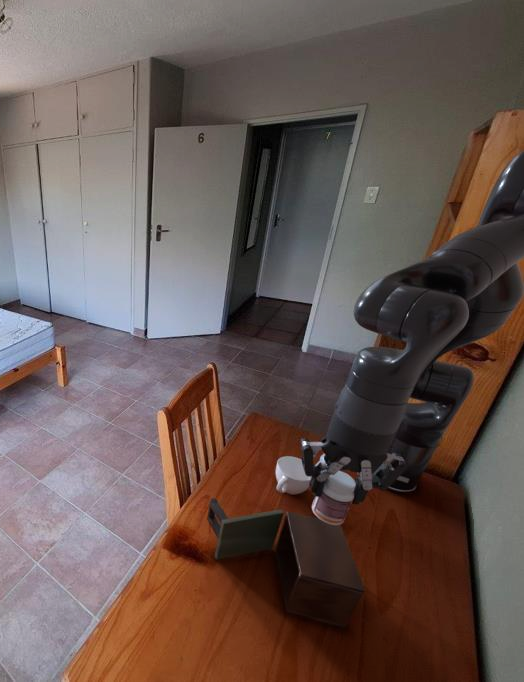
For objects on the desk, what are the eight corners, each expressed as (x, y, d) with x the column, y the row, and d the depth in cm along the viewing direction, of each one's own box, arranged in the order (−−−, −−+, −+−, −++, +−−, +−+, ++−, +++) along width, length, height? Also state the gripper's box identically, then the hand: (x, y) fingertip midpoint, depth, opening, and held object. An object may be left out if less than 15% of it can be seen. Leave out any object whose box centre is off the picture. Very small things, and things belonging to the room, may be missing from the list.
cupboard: (286, 612, 65) (301, 574, 60) (274, 548, 76) (286, 511, 71) (344, 629, 63) (365, 590, 57) (324, 560, 73) (340, 522, 68)
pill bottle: (349, 527, 60) (365, 492, 56) (317, 523, 61) (331, 488, 57) (336, 504, 64) (350, 469, 60) (307, 500, 65) (319, 466, 61)
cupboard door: (200, 529, 80) (206, 494, 75) (252, 519, 82) (261, 484, 77) (216, 559, 74) (224, 523, 69) (272, 548, 76) (284, 512, 71)
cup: (314, 490, 88) (321, 470, 85) (291, 511, 83) (297, 490, 80) (282, 470, 94) (288, 451, 91) (260, 488, 89) (265, 469, 86)
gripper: (316, 423, 52) (290, 504, 60) (441, 441, 48) (395, 526, 55) (304, 394, 58) (282, 471, 66) (413, 408, 54) (376, 488, 62)
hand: (334, 496), depth 61 cm, fingers closed on pill bottle, 4 cm apart
